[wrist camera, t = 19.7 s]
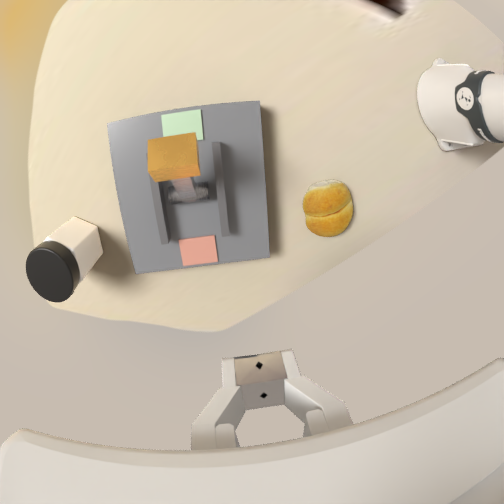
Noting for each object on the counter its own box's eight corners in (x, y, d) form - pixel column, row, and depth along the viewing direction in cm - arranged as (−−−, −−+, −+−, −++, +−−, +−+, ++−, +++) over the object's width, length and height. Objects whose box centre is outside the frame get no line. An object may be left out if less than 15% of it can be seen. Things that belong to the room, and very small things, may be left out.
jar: (55, 252, 40) (22, 287, 29) (64, 210, 37) (25, 237, 27) (98, 272, 43) (72, 313, 32) (109, 230, 40) (80, 264, 29)
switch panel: (254, 103, 36) (263, 98, 30) (264, 246, 45) (273, 265, 39) (116, 123, 34) (100, 123, 28) (141, 262, 43) (132, 282, 37)
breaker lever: (208, 182, 36) (198, 131, 23) (210, 205, 36) (201, 163, 23) (170, 187, 36) (144, 140, 23) (172, 210, 35) (144, 172, 22)
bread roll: (307, 239, 46) (316, 248, 42) (296, 186, 42) (304, 192, 38) (352, 225, 46) (363, 233, 42) (344, 174, 42) (356, 178, 38)
